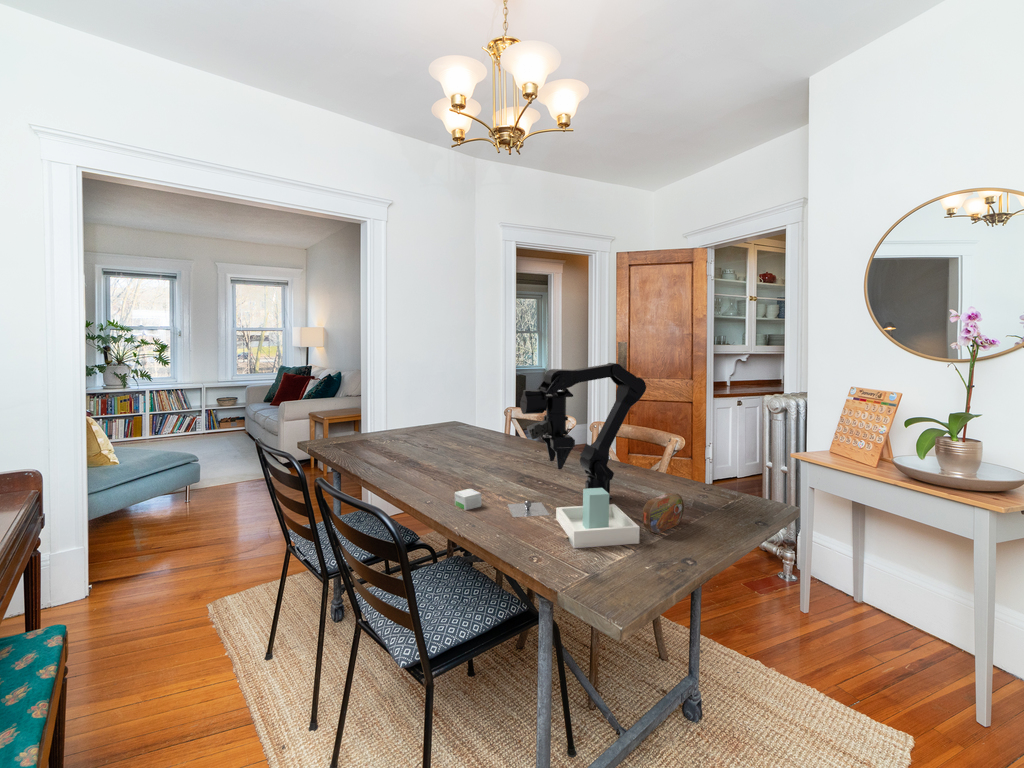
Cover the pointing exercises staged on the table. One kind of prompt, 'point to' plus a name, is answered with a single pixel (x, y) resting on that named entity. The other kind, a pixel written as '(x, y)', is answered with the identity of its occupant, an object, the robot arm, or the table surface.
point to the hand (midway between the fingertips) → (555, 464)
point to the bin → (615, 534)
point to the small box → (468, 499)
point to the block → (595, 508)
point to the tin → (663, 512)
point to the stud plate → (527, 509)
